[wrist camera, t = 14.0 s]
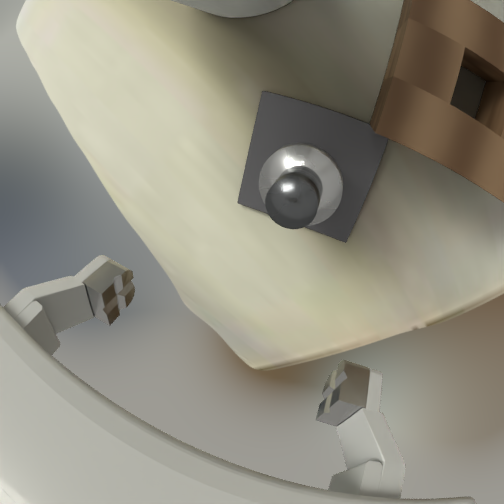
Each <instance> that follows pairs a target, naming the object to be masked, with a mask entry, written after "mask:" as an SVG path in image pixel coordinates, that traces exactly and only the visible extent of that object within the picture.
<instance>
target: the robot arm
mask: <svg viewBox="0 0 504 504" xmlns="http://www.w3.org/2000/svg"><path fill="white" fill-rule="evenodd" d="M132 279H133V272H132V271H131V270H129V269H127V268H126V267H124V266H122V265H120V264H118V263H117V262H115V261H113V260H111V259H109V258H108V257H106V256H104V255H100V256H98V257H97V258H95V259H94V260H93V261H92V262H91V263H89V264H88V265H87V266H86V267H84V268H83V269H82V270H81V271H80V272H79V273H78V274H77V275H75V276H74V277H72V276H68V277H64V278H60V279H57V280H53V281H49V282H45V283H42V284H38V285H34V286H30V287H27V288H24V289H23V290H21V291H20V292H19V293H18V294H17V295H16V296H15V297H14V298H13V299H12V300H10V301H9V302H8V303H7V304H6V305H5V306H4V307H2V306H1V305H0V504H476V502H475V500H474V499H473V498H472V497H456V498H455V497H454V498H439V499H401V498H400V497H401V492H402V486H403V480H404V473H405V462H404V460H403V458H402V455H401V453H400V451H399V448H398V446H397V444H396V441H395V439H394V437H393V435H392V432H391V430H390V428H389V426H388V424H387V421H386V419H385V417H384V414H383V413H381V412H380V401H381V389H382V372H380V371H377V370H373V369H370V368H368V367H365V366H362V365H359V364H355V363H352V362H349V361H346V360H342V361H341V362H340V363H339V364H338V368H337V370H336V371H333V372H332V373H331V374H330V375H329V377H328V379H327V381H326V383H325V386H324V389H323V393H322V394H323V397H324V399H325V400H323V401H322V402H321V403H320V405H319V409H318V413H317V417H316V420H317V421H320V422H324V423H327V424H330V425H333V426H337V427H336V429H337V433H338V436H339V440H340V444H341V447H342V451H343V455H344V458H345V463H346V466H347V470H346V471H343V472H340V473H338V474H335V475H334V476H332V479H331V482H330V486H329V489H328V490H324V489H320V488H315V487H310V486H306V485H302V484H298V483H294V482H290V481H286V480H282V479H279V478H275V477H272V476H268V475H265V474H262V473H259V472H256V471H253V470H250V469H247V468H244V467H242V466H239V465H236V464H233V463H230V462H228V461H226V460H223V459H221V458H218V457H216V456H213V455H211V454H209V453H206V452H204V451H202V450H199V449H197V448H195V447H193V446H191V445H188V444H186V443H184V442H182V441H180V440H178V439H176V438H174V437H172V436H170V435H168V434H167V433H165V432H163V431H161V430H159V429H157V428H155V427H154V426H152V425H150V424H148V423H146V422H145V421H143V420H141V419H140V418H138V417H136V416H135V415H133V414H131V413H130V412H128V411H126V410H125V409H123V408H122V407H120V406H119V405H117V404H115V403H114V402H112V401H111V400H109V399H108V398H106V397H105V396H104V395H102V394H101V393H99V392H98V391H96V390H95V389H94V388H92V387H91V386H90V385H88V384H87V383H85V382H84V381H83V380H81V379H80V378H79V377H78V376H76V375H75V374H74V373H72V372H71V371H70V370H69V369H67V368H66V367H65V366H64V365H63V364H61V363H60V362H59V361H57V359H55V358H54V357H53V356H52V355H53V353H54V352H55V351H56V350H57V349H58V348H59V347H60V341H59V339H58V338H57V336H56V334H57V333H59V332H61V331H64V330H66V329H68V328H71V327H73V326H75V325H78V324H80V323H82V322H85V321H87V320H90V319H92V318H94V317H96V318H97V319H99V320H101V321H102V322H104V323H106V324H107V325H109V326H110V325H111V324H112V323H113V322H114V321H115V320H116V318H117V317H118V316H119V315H120V309H124V308H126V307H127V306H128V305H129V304H130V303H131V301H132V299H133V297H134V293H135V287H134V285H133V283H132V281H131V280H132Z"/></svg>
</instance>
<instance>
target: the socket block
mask: <svg viewBox="0 0 504 504" xmlns="http://www.w3.org/2000/svg"><path fill="white" fill-rule="evenodd" d="M461 66H463V67H464V68H466V69H468V70H469V71H471V72H472V73H474V74H475V75H477V76H479V77H480V78H482V79H483V80H485V81H486V83H485V87H484V91H483V94H482V98H481V101H480V105H479V108H478V111H477V114H476V117H475V119H474V118H472V117H471V116H469V115H467V114H466V113H464V112H463V111H461V110H459V109H458V108H456V107H454V106H452V105H451V104H450V102H451V99H452V96H453V92H454V89H455V85H456V82H457V78H458V75H459V71H460V67H461ZM370 126H371V127H372V129H373V130H374V132H375V133H377V134H379V135H381V136H384V137H386V138H388V139H391V140H393V141H395V142H397V143H400V144H402V145H404V146H406V147H408V148H410V149H412V150H414V151H417V152H419V153H421V154H423V155H425V156H427V157H429V158H430V159H432V160H434V161H436V162H438V163H440V164H442V165H444V166H445V167H447V168H449V169H451V170H453V171H454V172H456V173H458V174H460V175H461V176H463V177H465V178H466V179H468V180H470V181H471V182H473V183H475V184H476V185H478V186H479V187H481V188H483V189H484V190H486V191H487V192H489V193H490V194H492V195H493V196H495V197H496V198H498V199H499V200H501V201H502V202H504V23H503V22H502V21H501V20H499V19H498V18H496V17H495V16H494V15H492V14H491V13H489V12H488V11H486V10H485V9H483V8H482V7H480V6H478V5H477V4H475V3H473V2H472V1H470V0H404V2H403V7H402V11H401V15H400V20H399V24H398V28H397V32H396V36H395V40H394V44H393V47H392V51H391V55H390V58H389V62H388V66H387V69H386V73H385V76H384V79H383V83H382V86H381V89H380V93H379V96H378V99H377V102H376V105H375V109H374V112H373V115H372V118H371V121H370Z"/></svg>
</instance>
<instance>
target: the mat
mask: <svg viewBox="0 0 504 504" xmlns="http://www.w3.org/2000/svg"><path fill="white" fill-rule="evenodd" d="M387 142H388V138H386V137H384V136H381V135H379V134H377V133H375V132H374V130H373V129H372V127H371V126H370V124H368V123H365V122H363V121H360V120H358V119H355V118H352V117H349V116H347V115H344V114H341V113H338V112H335V111H332V110H329V109H326V108H323V107H320V106H317V105H314V104H311V103H307V102H304V101H301V100H297V99H293V98H290V97H286V96H282V95H279V94H275V93H271V92H266V91H262V95H261V100H260V104H259V108H258V112H257V117H256V121H255V125H254V130H253V134H252V139H251V143H250V147H249V152H248V156H247V161H246V165H245V170H244V175H243V179H242V184H241V189H240V193H239V198H238V203H239V204H242V205H244V206H247V207H250V208H253V209H256V210H259V211H262V212H264V213H267V214H268V212H267V210H266V206H265V203H264V201H263V200H262V197H261V194H260V190H259V176H260V172H261V169H262V167H263V165H264V163H265V162H266V161H267V159H268V158H269V157H270V156H271V155H272V154H274V153H275V152H276V151H277V150H278V149H280V148H282V147H283V146H286V145H288V144H292V143H310V144H313V145H316V146H319V147H321V148H322V149H324V150H326V151H327V152H328V153H329V154H330V155H331V156H332V157H333V158H334V159H335V160H336V162H337V164H338V165H339V167H340V170H341V173H342V177H343V191H342V198H341V201H340V204H339V206H338V208H337V209H336V211H335V212H334V213H333V214H332V215H331V216H330V217H329V218H328V219H326V220H324V221H323V222H320V223H318V224H315V225H310V226H305V227H306V228H308V229H311V230H314V231H316V232H319V233H322V234H324V235H327V236H330V237H332V238H335V239H337V240H340V241H342V242H345V243H346V242H347V239H348V237H349V235H350V233H351V231H352V228H353V226H354V224H355V222H356V219H357V217H358V215H359V213H360V210H361V208H362V206H363V203H364V201H365V198H366V196H367V194H368V191H369V189H370V186H371V184H372V181H373V179H374V176H375V174H376V171H377V169H378V166H379V164H380V161H381V158H382V156H383V153H384V150H385V148H386V145H387Z"/></svg>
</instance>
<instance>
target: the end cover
mask: <svg viewBox="0 0 504 504" xmlns="http://www.w3.org/2000/svg"><path fill="white" fill-rule="evenodd" d="M259 190H260V194H261V197H262V200H263V201H264V203H265V206H266V210H267V212H268V214H269V216H270V217H271V219H272V220H273V221H274V222H275V223H277V224H278V225H280V226H282V227H285V228H288V229H299V228H303V227H305V226H310V225H315V224H318V223H320V222H323V221H324V220H326V219H328V218H329V217H330V216H331V215H332V214H333V213H334V212H335V211H336V209H337V208H338V206H339V204H340V201H341V198H342V191H343V177H342V173H341V170H340V167H339V165H338V164H337V162H336V160H335V159H334V158H333V157H332V156H331V155H330V154H329V153H328V152H327V151H326V150H324V149H322V148H321V147H319V146H316V145H313V144H310V143H292V144H288V145H286V146H283V147H282V148H280V149H278V150H277V151H276V152H275V153H274V154H272V155H271V156H270V157H269V158H268V159H267V161H266V162H265V163H264V165H263V167H262V169H261V172H260V176H259Z"/></svg>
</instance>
